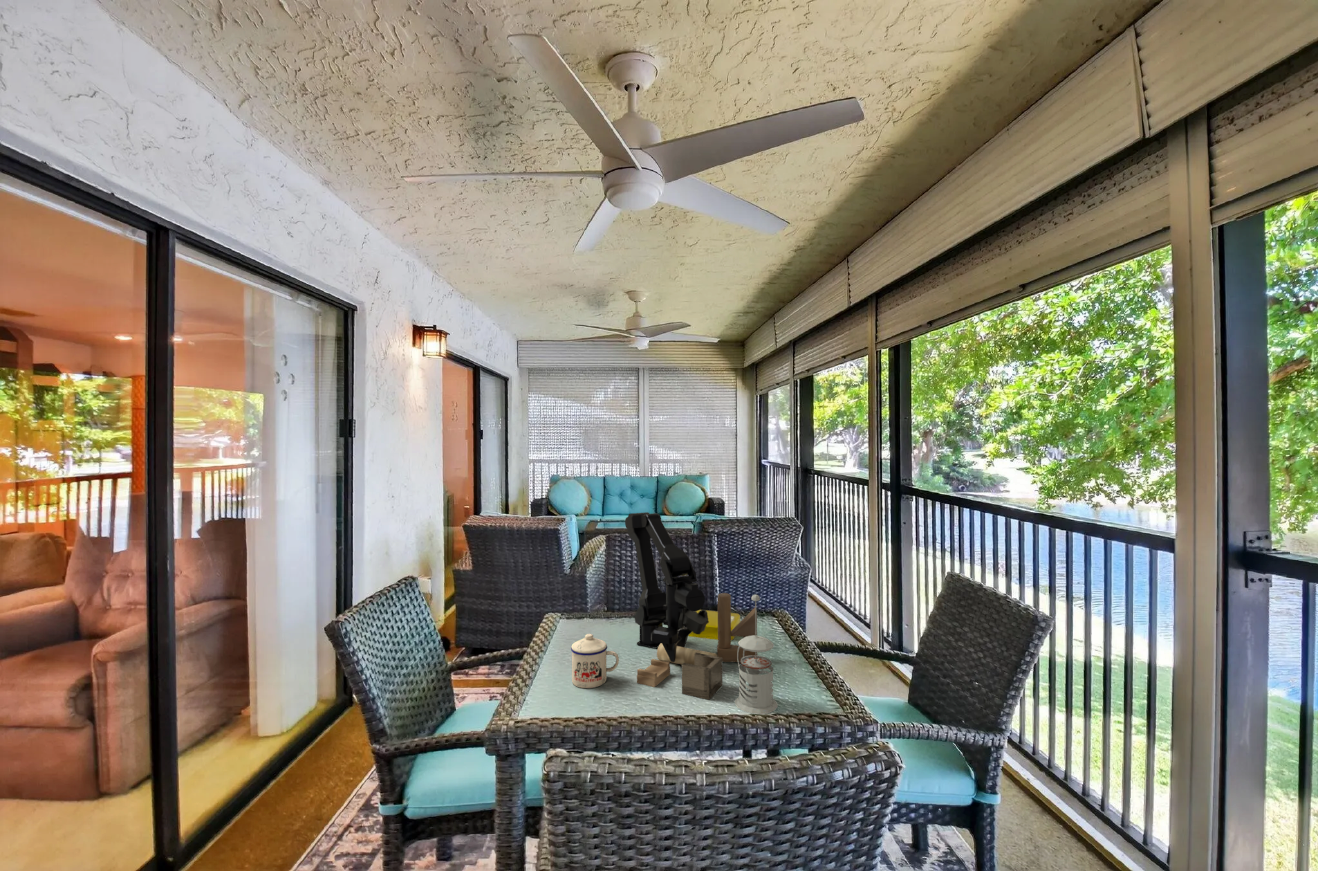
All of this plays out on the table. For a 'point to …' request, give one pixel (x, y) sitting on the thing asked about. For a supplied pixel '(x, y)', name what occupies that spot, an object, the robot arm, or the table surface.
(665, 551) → the robot arm
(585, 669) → the teacup with lid
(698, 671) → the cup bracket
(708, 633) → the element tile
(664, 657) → the rod
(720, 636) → the brown post stand
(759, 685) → the french press
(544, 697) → the table surface
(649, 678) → the block
